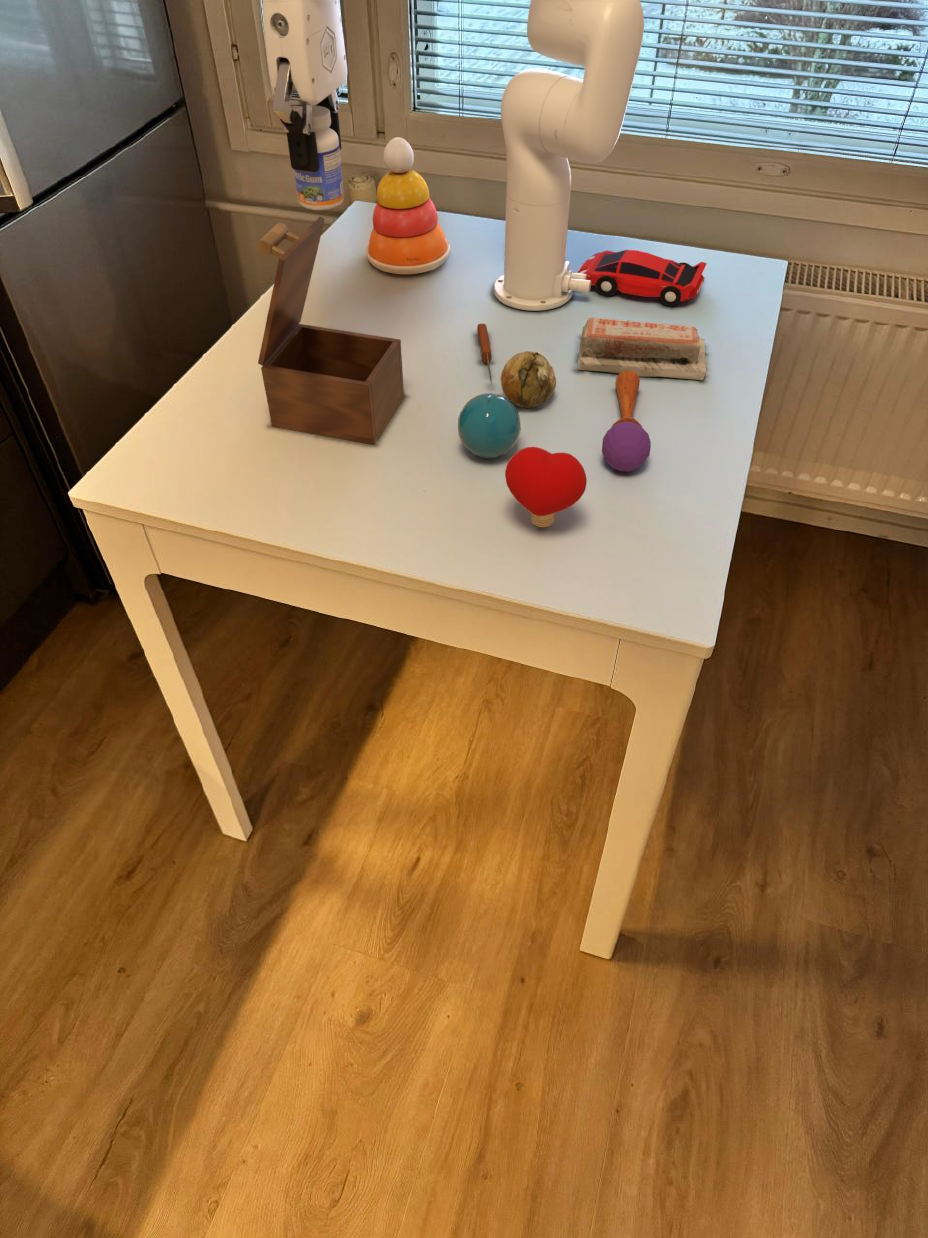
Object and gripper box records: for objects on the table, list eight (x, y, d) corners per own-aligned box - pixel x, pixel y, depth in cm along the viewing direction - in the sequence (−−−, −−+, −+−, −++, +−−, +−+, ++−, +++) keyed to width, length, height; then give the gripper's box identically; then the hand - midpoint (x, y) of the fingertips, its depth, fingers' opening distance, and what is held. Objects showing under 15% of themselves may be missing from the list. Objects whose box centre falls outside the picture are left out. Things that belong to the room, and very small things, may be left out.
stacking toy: (448, 241, 160) (446, 120, 146) (452, 279, 150) (450, 153, 136) (367, 243, 159) (357, 122, 145) (365, 281, 149) (354, 156, 135)
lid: (325, 218, 111) (290, 200, 111) (284, 260, 103) (246, 240, 103) (300, 321, 122) (268, 305, 122) (262, 366, 115) (228, 349, 115)
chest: (404, 397, 126) (400, 339, 120) (374, 444, 119) (368, 385, 112) (307, 380, 129) (298, 323, 123) (271, 426, 122) (260, 367, 115)
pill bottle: (288, 204, 106) (275, 114, 99) (317, 188, 109) (306, 99, 102) (325, 215, 104) (314, 123, 97) (354, 198, 107) (345, 108, 100)
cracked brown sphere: (566, 392, 127) (570, 340, 121) (541, 422, 122) (545, 369, 116) (516, 379, 129) (519, 327, 123) (491, 407, 124) (492, 354, 118)
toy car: (584, 265, 153) (587, 235, 149) (704, 282, 149) (710, 251, 145) (569, 293, 146) (572, 263, 142) (695, 312, 142) (701, 281, 138)
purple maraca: (655, 367, 123) (657, 444, 109) (641, 405, 128) (641, 485, 113) (613, 356, 123) (609, 432, 109) (600, 395, 127) (595, 473, 113)
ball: (523, 436, 120) (526, 383, 114) (515, 474, 114) (517, 419, 108) (463, 431, 120) (462, 377, 115) (452, 467, 115) (451, 413, 109)
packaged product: (579, 341, 127) (584, 306, 133) (576, 372, 130) (581, 336, 137) (711, 351, 125) (709, 315, 131) (704, 382, 128) (703, 346, 135)
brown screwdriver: (477, 333, 138) (477, 320, 136) (486, 332, 138) (486, 320, 137) (486, 390, 127) (486, 377, 126) (496, 390, 127) (496, 377, 126)
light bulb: (587, 515, 109) (596, 445, 101) (573, 552, 104) (580, 482, 97) (512, 499, 111) (515, 430, 103) (495, 535, 106) (497, 465, 99)
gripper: (291, -10, 84) (316, 192, 97) (362, -50, 95) (375, 136, 108) (219, -15, 86) (252, 184, 99) (296, -54, 97) (317, 130, 110)
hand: (316, 157), depth 103 cm, fingers closed on pill bottle, 5 cm apart
